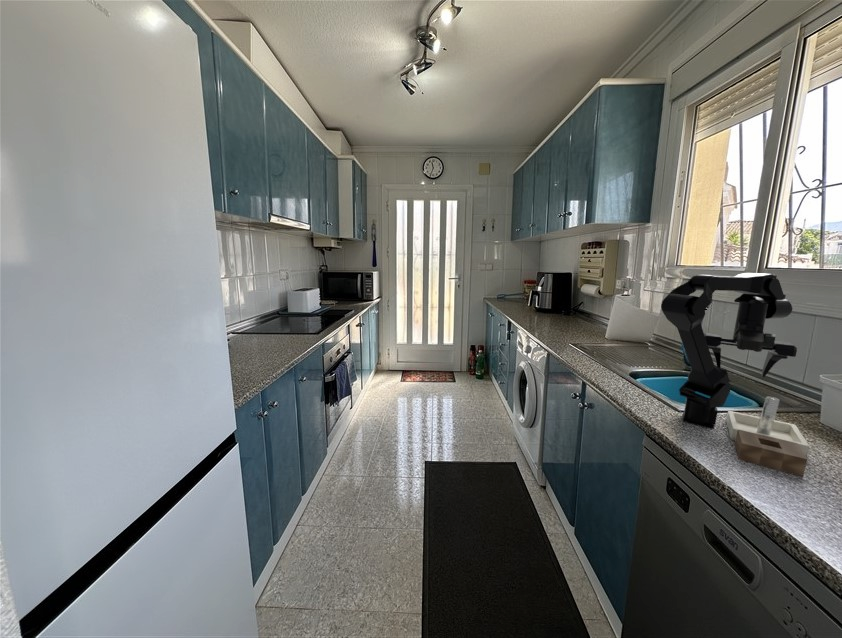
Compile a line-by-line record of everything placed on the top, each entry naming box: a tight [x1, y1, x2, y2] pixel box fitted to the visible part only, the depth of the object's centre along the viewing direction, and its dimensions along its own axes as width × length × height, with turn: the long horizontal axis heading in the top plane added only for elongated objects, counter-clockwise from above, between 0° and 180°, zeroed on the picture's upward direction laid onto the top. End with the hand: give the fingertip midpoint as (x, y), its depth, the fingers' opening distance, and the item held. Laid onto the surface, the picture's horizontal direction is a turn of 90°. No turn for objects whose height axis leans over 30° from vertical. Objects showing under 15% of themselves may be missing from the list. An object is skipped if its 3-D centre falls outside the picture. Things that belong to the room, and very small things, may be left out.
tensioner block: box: [734, 429, 808, 478], centre depth 77 cm, size 10×8×4 cm
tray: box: [725, 410, 810, 459], centre depth 87 cm, size 13×13×3 cm
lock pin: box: [757, 396, 780, 435], centre depth 86 cm, size 2×2×10 cm
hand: (739, 373), depth 96 cm, fingers open, 9 cm apart
